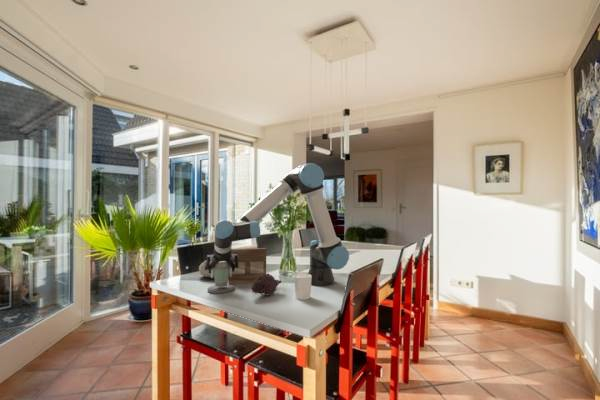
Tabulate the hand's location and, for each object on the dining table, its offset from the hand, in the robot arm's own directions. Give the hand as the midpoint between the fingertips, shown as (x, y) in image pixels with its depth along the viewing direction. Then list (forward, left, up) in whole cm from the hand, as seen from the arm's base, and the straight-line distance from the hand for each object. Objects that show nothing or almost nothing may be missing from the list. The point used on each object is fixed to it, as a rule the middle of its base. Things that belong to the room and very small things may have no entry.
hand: (221, 274), depth 150 cm
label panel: (+1, -16, -7) cm, 17 cm away
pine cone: (-24, -10, -7) cm, 27 cm away
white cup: (-38, -21, -7) cm, 44 cm away
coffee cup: (-3, +1, -4) cm, 6 cm away
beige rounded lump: (+23, -8, -7) cm, 25 cm away
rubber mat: (-3, +1, -7) cm, 7 cm away
